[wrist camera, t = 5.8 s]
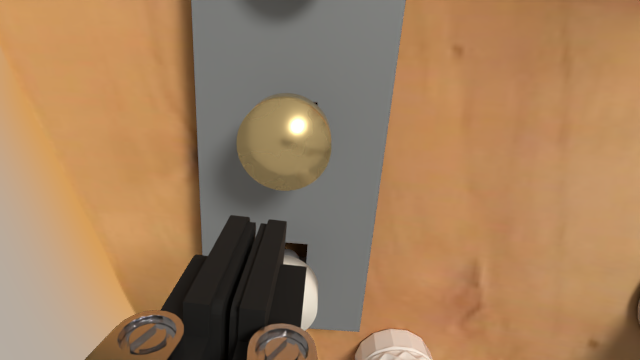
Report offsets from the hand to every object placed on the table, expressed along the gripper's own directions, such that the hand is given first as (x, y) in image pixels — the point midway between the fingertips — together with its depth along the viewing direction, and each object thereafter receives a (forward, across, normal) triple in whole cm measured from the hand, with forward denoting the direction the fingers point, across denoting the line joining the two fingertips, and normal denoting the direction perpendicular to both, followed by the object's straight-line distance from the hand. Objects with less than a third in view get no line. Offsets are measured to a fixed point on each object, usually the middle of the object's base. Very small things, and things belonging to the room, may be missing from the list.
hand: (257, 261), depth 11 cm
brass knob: (+14, 0, -1) cm, 14 cm away
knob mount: (+17, 0, -1) cm, 17 cm away
